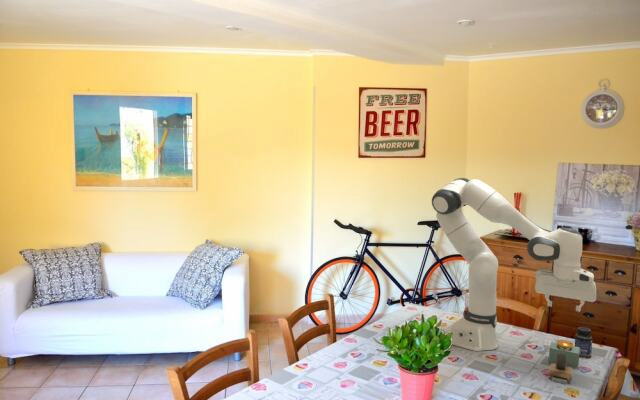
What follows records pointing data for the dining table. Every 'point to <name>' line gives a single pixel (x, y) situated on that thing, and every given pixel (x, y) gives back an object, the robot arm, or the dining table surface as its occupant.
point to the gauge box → (571, 355)
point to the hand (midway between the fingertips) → (563, 308)
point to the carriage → (560, 368)
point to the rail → (560, 378)
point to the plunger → (564, 344)
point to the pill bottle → (584, 342)
